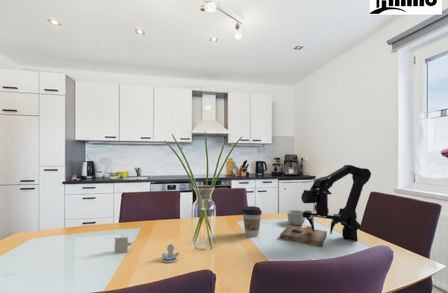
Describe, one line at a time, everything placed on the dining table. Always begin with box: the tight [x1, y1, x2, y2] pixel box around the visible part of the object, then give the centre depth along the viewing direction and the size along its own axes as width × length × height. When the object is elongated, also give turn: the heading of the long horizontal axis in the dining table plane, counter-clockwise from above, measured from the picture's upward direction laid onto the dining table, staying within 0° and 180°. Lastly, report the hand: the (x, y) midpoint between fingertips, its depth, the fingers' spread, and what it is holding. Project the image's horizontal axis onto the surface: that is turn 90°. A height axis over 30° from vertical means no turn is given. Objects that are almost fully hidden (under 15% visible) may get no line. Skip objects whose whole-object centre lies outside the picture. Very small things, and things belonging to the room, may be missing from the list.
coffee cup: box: [241, 205, 263, 238], centre depth 127 cm, size 11×11×15 cm
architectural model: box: [114, 236, 133, 254], centre depth 105 cm, size 3×7×7 cm, turn 98°
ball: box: [304, 225, 313, 234], centre depth 122 cm, size 4×4×4 cm
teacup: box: [286, 209, 306, 227], centre depth 148 cm, size 14×11×8 cm
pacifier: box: [161, 244, 180, 264], centre depth 97 cm, size 7×6×6 cm
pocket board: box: [279, 224, 328, 248], centre depth 123 cm, size 21×18×2 cm
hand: (322, 232), depth 118 cm, fingers open, 8 cm apart
